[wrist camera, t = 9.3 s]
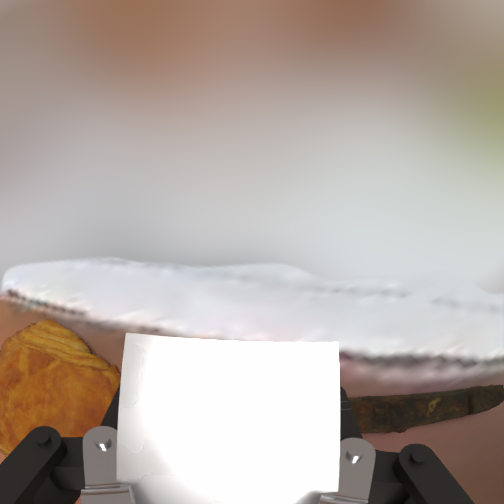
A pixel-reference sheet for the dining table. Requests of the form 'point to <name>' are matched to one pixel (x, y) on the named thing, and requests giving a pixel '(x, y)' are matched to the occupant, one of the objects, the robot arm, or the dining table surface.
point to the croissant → (51, 384)
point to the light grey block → (228, 421)
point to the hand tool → (422, 408)
